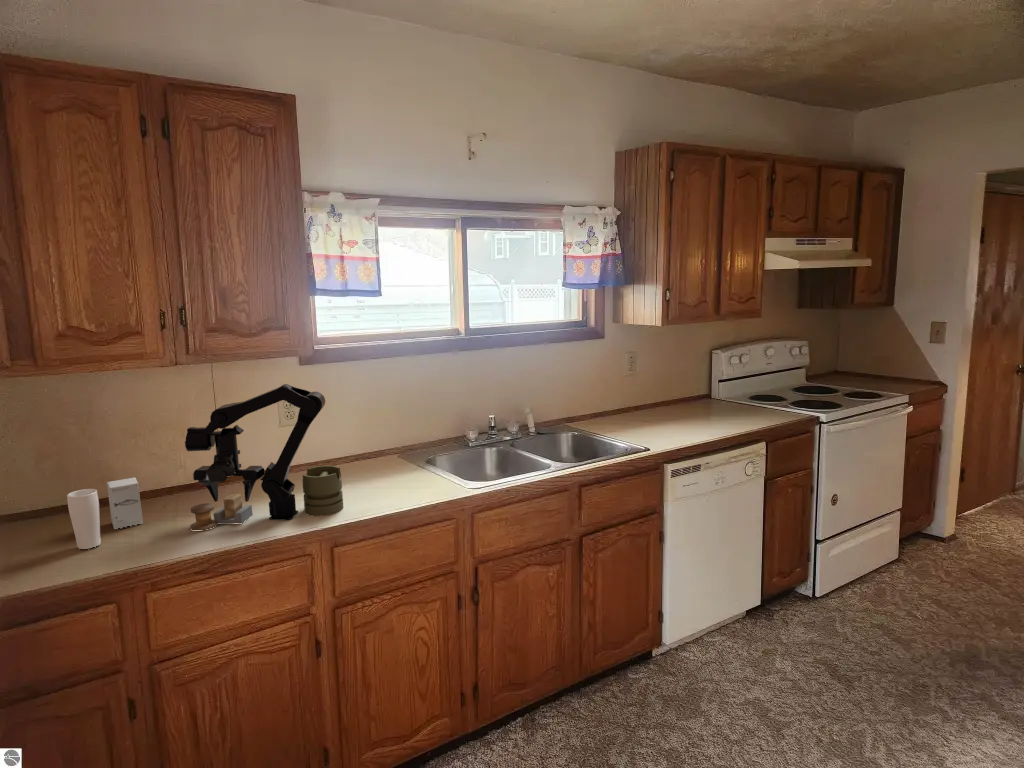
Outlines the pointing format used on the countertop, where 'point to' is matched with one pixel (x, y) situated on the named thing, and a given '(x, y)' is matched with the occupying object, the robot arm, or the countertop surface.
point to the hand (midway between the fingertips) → (231, 501)
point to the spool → (203, 517)
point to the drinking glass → (85, 517)
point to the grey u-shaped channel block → (239, 515)
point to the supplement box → (124, 503)
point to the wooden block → (232, 505)
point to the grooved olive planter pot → (322, 490)
